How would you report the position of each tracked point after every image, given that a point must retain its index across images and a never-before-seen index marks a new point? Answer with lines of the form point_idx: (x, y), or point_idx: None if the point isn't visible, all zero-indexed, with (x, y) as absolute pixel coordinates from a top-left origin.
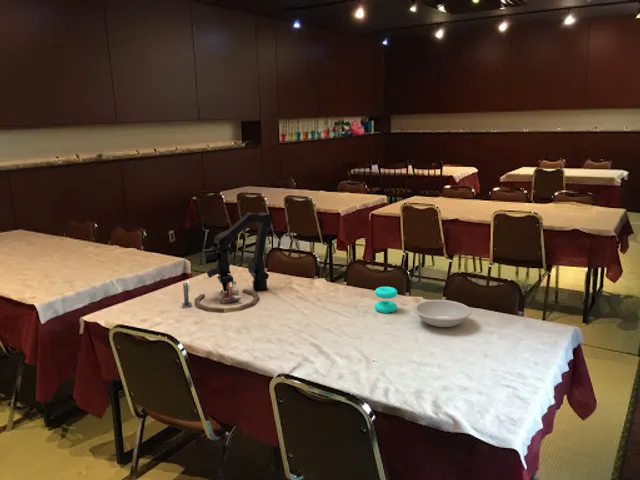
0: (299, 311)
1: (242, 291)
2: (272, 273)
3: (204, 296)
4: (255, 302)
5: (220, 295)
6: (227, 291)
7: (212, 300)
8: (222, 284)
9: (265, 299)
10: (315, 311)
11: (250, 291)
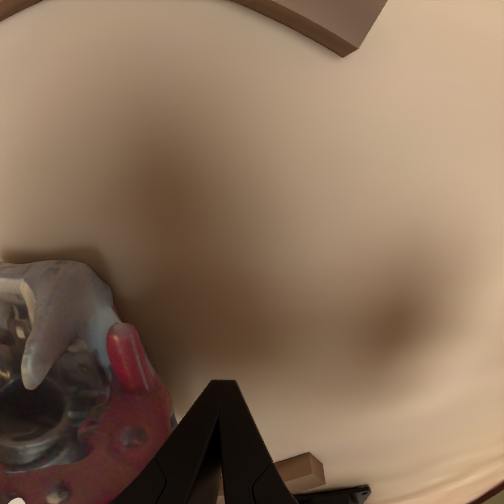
0: None
1: (310, 461)
2: (490, 486)
3: (326, 41)
4: None
5: (33, 301)
6: (89, 418)
7: (139, 151)
8: (130, 485)
9: None
10: (18, 498)
11: None
